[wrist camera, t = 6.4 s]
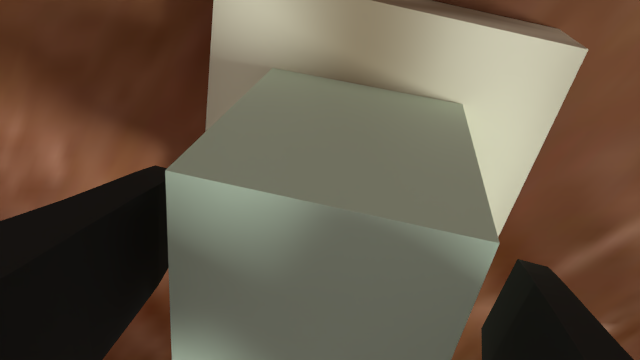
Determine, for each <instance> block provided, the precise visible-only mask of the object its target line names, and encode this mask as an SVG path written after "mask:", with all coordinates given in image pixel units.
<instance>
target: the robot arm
mask: <svg viewBox="0 0 640 360" xmlns="http://www.w3.org/2000/svg"><path fill="white" fill-rule="evenodd" d="M166 169H167V168H163V167H159V166H152V167H149V168H146V169H143V170H140V171H137V172H135V173H132V174H129V175H127V176H124V177H121V178H119V179H116V180H114V181H111V182H109V183H106V184H103V185H101V186H98V187H96V188H93V189H90V190H88V191H85V192H83V193H80V194H77V195H75V196H72V197H69V198H67V199H64V200H61V201H58V202H56V203H53V204H50V205H47V206H44V207H41V208H38V209H35V210H32V211H29V212H26V213H23V214H20V215H17V216H15V217H12V218H9V219H6V220H2V221H0V360H102V359H103V358H104V357H105V355H106V354H107V353H108V351H109V350H110V349H111V347H112V346H113V345H114V343H115V342H116V341H117V340H118V338H119V337H120V336H121V334H122V333H123V332H124V330H125V329H126V328H127V326H128V325H129V324H130V322H131V321H132V320H133V318H134V317H135V316H136V314H137V313H138V312H139V310H140V309H141V308H142V306H143V305H144V304H145V302H146V301H147V300H148V298H149V297H150V296H151V294H152V293H153V292H154V290H155V289H156V287H157V286H158V285H159V283H160V281H161V279H162V278H163V276H164V274H165V273H166V271H167V269H168V267H169V264H168V236H167V208H166V181H165V170H166ZM482 360H633V359H632V357H631V356H630V355H629V354H628V353H627V352H626V351H625V350H624V349H623V348H622V347H621V346H620V345H619V343H618V342H617V341H616V340H615V339H614V338H613V337H612V336H611V335H610V334H609V333H608V331H607V330H606V329H605V328H604V327H603V326H602V325H601V324H600V323H599V321H598V320H597V319H596V318H595V317H594V316H593V315H592V314H591V313H590V311H589V310H588V309H587V308H586V307H585V306H584V305H583V304H582V302H581V301H580V300H579V299H578V298H577V297H576V296H575V295H574V294H573V292H572V291H571V290H570V289H569V288H568V287H567V286H566V285H565V284H564V283H563V282H562V281H561V279H560V278H559V277H558V276H557V275H556V274H555V273H554V272H553V271H552V270H550V269H549V268H548V267H546V266H542V265H538V264H534V263H530V262H527V261H523V260H519V259H518V260H517V261H516V263H515V265H514V267H513V269H512V271H511V273H510V275H509V277H508V279H507V281H506V283H505V285H504V286H503V288H502V290H501V292H500V294H499V296H498V298H497V300H496V302H495V304H494V306H493V308H492V310H491V311H490V313H489V315H488V317H487V319H486V321H485V323H484V325H483V327H482Z"/></svg>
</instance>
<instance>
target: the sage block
mask: <svg viewBox="0 0 640 360" xmlns="http://www.w3.org/2000/svg"><path fill="white" fill-rule="evenodd" d="M165 181H166V208H167V236H168V264H169V292H170V320H171V348H172V360H451V358H452V356H453V354H454V351H455V349H456V346H457V344H458V342H459V339H460V337H461V334H462V332H463V330H464V327H465V325H466V322H467V320H468V318H469V315H470V313H471V310H472V308H473V306H474V303H475V301H476V298H477V296H478V294H479V291H480V289H481V286H482V284H483V282H484V279H485V277H486V274H487V272H488V270H489V267H490V265H491V262H492V260H493V258H494V255H495V253H496V250H497V248H498V246H499V240H498V236H497V232H496V228H495V224H494V221H493V217H492V213H491V209H490V206H489V202H488V198H487V194H486V191H485V187H484V183H483V179H482V176H481V172H480V168H479V164H478V161H477V157H476V153H475V149H474V146H473V142H472V138H471V134H470V131H469V127H468V123H467V119H466V115H465V112H464V108H463V104H459V103H454V102H448V101H443V100H438V99H433V98H428V97H422V96H417V95H412V94H407V93H401V92H396V91H391V90H386V89H381V88H375V87H370V86H365V85H360V84H355V83H349V82H344V81H339V80H334V79H328V78H323V77H318V76H313V75H308V74H302V73H297V72H292V71H287V70H281V69H276V68H272V69H271V70H270V71H269V72H268V73H267V74H266V75H265V76H264V77H262V78H261V79H260V80H259V81H258V82H257V83H256V84H255V85H254V86H253V87H252V88H251V89H250V90H249V91H248V92H247V93H246V94H245V95H244V96H243V97H242V98H240V99H239V100H238V101H237V102H236V103H235V104H234V105H233V106H232V107H231V108H230V109H229V110H228V111H227V112H226V113H225V114H224V115H223V116H222V117H221V118H220V119H218V120H217V121H216V122H215V123H214V124H213V125H212V126H211V127H210V128H209V129H208V130H207V131H206V132H205V133H204V134H203V135H202V136H201V137H200V138H199V139H198V140H197V141H195V142H194V143H193V144H192V145H191V146H190V147H189V148H188V149H187V150H186V151H185V152H184V153H183V154H182V155H181V156H180V157H179V158H178V159H177V160H176V161H175V162H173V163H172V164H171V165H170V166H169V167H168V168H167V169H166V170H165Z"/></svg>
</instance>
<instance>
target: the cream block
mask: <svg viewBox="0 0 640 360" xmlns="http://www.w3.org/2000/svg"><path fill="white" fill-rule="evenodd" d="M587 51H588V49H587V48H585V47H584V46H582V45H581V44H580V43H578V42H577V41H575V40H574V39H572V38H571V37H570V36H568V35H567V34H565V33H564V32H563V31H561V30H560V29H556V28H552V27H548V26H543V25H539V24H534V23H530V22H525V21H521V20H516V19H512V18H508V17H503V16H499V15H494V14H490V13H485V12H481V11H476V10H472V9H468V8H463V7H459V6H454V5H450V4H445V3H441V2H436V1H432V0H214V2H213V18H212V34H211V50H210V65H209V81H208V97H207V113H206V129H205V132H206V131H207V130H208V129H209V128H210V127H211V126H212V125H213V124H214V123H215V122H216V121H217V120H218V119H220V118H221V117H222V116H223V115H224V114H225V113H226V112H227V111H228V110H229V109H230V108H231V107H232V106H233V105H234V104H235V103H236V102H237V101H238V100H239V99H240V98H242V97H243V96H244V95H245V94H246V93H247V92H248V91H249V90H250V89H251V88H252V87H253V86H254V85H255V84H256V83H257V82H258V81H259V80H260V79H261V78H262V77H264V76H265V75H266V74H267V73H268V72H269V71H270V70H271V69H272V68H276V69H281V70H287V71H292V72H297V73H302V74H308V75H313V76H318V77H323V78H328V79H334V80H339V81H344V82H349V83H355V84H360V85H365V86H370V87H375V88H381V89H386V90H391V91H396V92H401V93H407V94H412V95H417V96H422V97H428V98H433V99H438V100H443V101H448V102H454V103H459V104H463V108H464V112H465V115H466V119H467V123H468V127H469V131H470V134H471V138H472V142H473V146H474V149H475V153H476V157H477V161H478V164H479V168H480V172H481V176H482V179H483V183H484V187H485V191H486V194H487V198H488V202H489V206H490V209H491V213H492V217H493V221H494V224H495V228H496V232H497V236H499V234H500V232H501V230H502V228H503V226H504V224H505V222H506V220H507V218H508V216H509V213H510V211H511V209H512V207H513V205H514V203H515V201H516V199H517V197H518V195H519V193H520V191H521V188H522V186H523V184H524V182H525V180H526V178H527V176H528V174H529V172H530V170H531V168H532V166H533V163H534V161H535V159H536V157H537V155H538V153H539V151H540V149H541V147H542V145H543V143H544V141H545V139H546V136H547V134H548V132H549V130H550V128H551V126H552V124H553V122H554V120H555V118H556V116H557V114H558V111H559V109H560V107H561V105H562V103H563V101H564V99H565V97H566V95H567V93H568V91H569V89H570V86H571V84H572V82H573V80H574V78H575V76H576V74H577V72H578V70H579V68H580V66H581V64H582V62H583V59H584V57H585V55H586V53H587Z"/></svg>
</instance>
